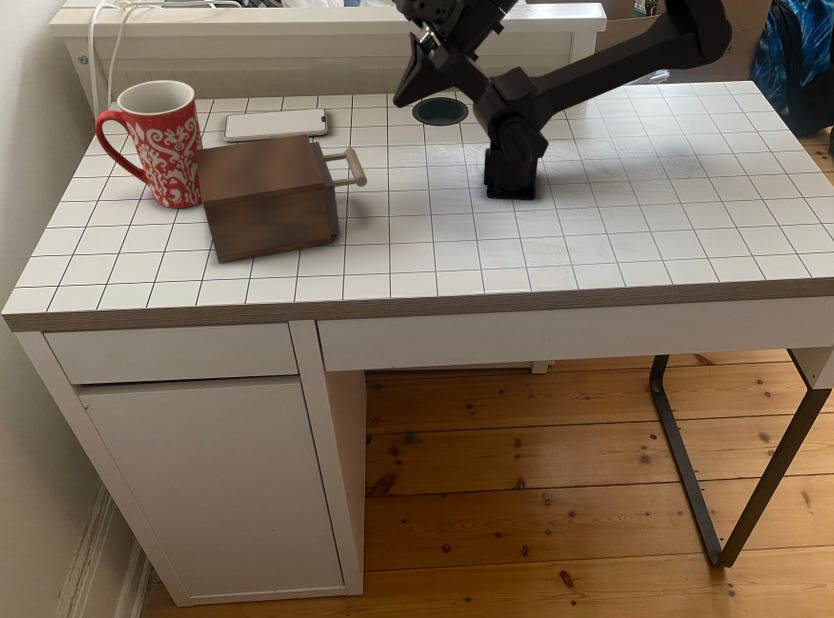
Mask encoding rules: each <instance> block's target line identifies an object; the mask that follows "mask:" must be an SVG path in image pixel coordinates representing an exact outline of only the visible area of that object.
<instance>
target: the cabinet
mask: <svg viewBox="0 0 834 618" xmlns="http://www.w3.org/2000/svg"><path fill="white" fill-rule="evenodd" d="M311 143H312V142H311V141H310V138H309V136H308V135H307V134H304V135H297V136H290V137H283V138H272V139H261V140H254V141H248V142H242V143H233V144H227V145H221V146H220V145H219V146H213V147H208V148H203V149H199V150H195V152H196V160H197V167H198V175H199V182H200V190H201V197H202V201H201V203H202V207H203V211H204V214H205V217H206V221H207V225H208V230H209V232H210V236H211V240H212V244H213V247H214V251H215V255H216V259H217V262H218V264H222V263H227V262H233V261H239V260H244V259H251V258H257V257H263V256H267V255H273V254H279V253H285V252H291V251H297V250H303V249H308V248H313V247H314V248H315V247H319V246H325V245H331V244H333V241H332V234H331V232H330V224H329V216H328V209H327V201H326V193H325V185H324V181H323V178H322V175H321V172H320V169H319V166H318V164H317V161H316V158H315V155H314V152H313V149H312V146H311Z"/></svg>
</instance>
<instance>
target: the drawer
mask: <svg viewBox="0 0 834 618" xmlns="http://www.w3.org/2000/svg"><path fill="white" fill-rule="evenodd" d="M310 143H311V146H312V149H313V152H314V155H315V158H316V161H317V164H318V166H319V169H320V172H321V175H322V178H323V181H324V185H325V193H326V201H327V209H328V216H329V224H330V232H331V235H335V234H341V230H340V222H339V221H340V220H339V213H338V206H337V205H338V204H337V197H336V188H339V187H344V186H345V187H346V186H350V185H351V186H352V185H356V186H357V187H359V188H363V187H365V186H366V185H367V184H368V178H367V176H366V174H365V171H364V169H363V167H362V164H361V162H360V160H359V157H358V155H357V153H356V150H355V148H352V147H348V148H346V149H345V150H344V152H338V153H333V154H326V155H325V154H324V153H323V150H322V147H321V144H320V142H319V141H312V142H310ZM340 160H346V163H347V165H348V168H349V170H350V173H351V175H352V177H348V178H347V177H346V178H342V179H335V180H334V179H333V178H332V174H331V172H330V170H329V167H328V162H333V161H340Z"/></svg>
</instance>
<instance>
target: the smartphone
mask: <svg viewBox="0 0 834 618" xmlns="http://www.w3.org/2000/svg"><path fill="white" fill-rule="evenodd" d="M328 130H329V129H328V116H327V109H325V108H324V107H323V108H322V107H315V108H302V109H288V110H287V109H286V110H276V111H275V110H274V111H261V112H249V113H246V112H245V113H233V114H228V115H227V116H225V119H224V127H223V134H222V135H223V136H222V137H223V140H224V141H225V142H226V143H227V142H229V143H230V142H232V143H233V142H244V141H260V140H269V139H276V138H283V137H290V136H297V135H304V134H307V135H308V137H309V136H322V135H325V134H327V133H328Z"/></svg>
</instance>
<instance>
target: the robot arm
mask: <svg viewBox="0 0 834 618" xmlns="http://www.w3.org/2000/svg"><path fill="white" fill-rule="evenodd" d="M391 2H392V3H394V5H395V8H396V10H397V12H399V13H400V14H401V15H403V17H404V18H405V19H406V20H407V21H408V22H412V23H414V24H415V26H417V27H418V29H419V30H418V32H417V33H416V34H414V33H413V32H412V31H409V34H408V35H409V36H408V37H409V40H410V50H411V56H410V58H409V61H408V63H407V66H406V68H405V70H404V73H403V75H402V77H401V79H400V81H399V84H398V86H397V89H396V91H395V93H394V95H393V98H392V103H393V105H394V106H395V107H396V108H398V109H402V108H406V107H408V106H409V105H411V104H412V105H413V104H414V103H416V102H419V101H420V100H423V99H425V98H428V97H430V96H432V95H435V94H438V93H441V92H444V91H446V90H449V89H451V88H455V89H458V90H459V91H460V92H461V93H462V94H463V95H465V96H466V97H467V98H468V99H469V100H470V101H472V113H473V115H474V118H475V120H476V121H477V122H478V124H479V126H480V127H481V128H482V130H483V131H484V133H485V134H486V136H487V137H488V139H489V140H490V142H489V147H487V148H485V149H484V150H485V151H484V163H483V164H484V165H483V186H485V187H486V193H485V194H486V196H487V197H488V198H495V199H496V198H500V199H517V200H535V199H536V197H537V173H538V164H539V159H542V158H544V156H545V154H546V151H547V149H548V147H549V145H550V142H549V140H548V139H547V138H546V137H545V135H544V134H543V133H542V130H543V128H545V126H547V124H548V123H549V121H550V120H551V119H552V117H553V116H555V115H557V114H558V113H561V112H564V111H566V110H569V109H571V108H573V107H575V106H577V105H580V104H583V103H584V102H588V101H589V100H592V99H595V98H596V97H599V96H601V95H603V94H606V93H609V92H611V91H613V90H615V89H619V88H621V87H623V86H625V85H628V84H630V83H633V82H635V81H638V80H640V79H643V78H644V77H647V76H649V75H651V74H653V73H656V72H658V71H690V70H694V69H697V68H702V67H706V66H710V65H713V64H714V63H717V62H718V61H720V59H722V58H723V57H724V55H725V52H726V51H727V49H728V48H729V46H730V43H731V41H732V37H733V27H732V24H731V23H730V21H729V19H727V16H726V10H725V7H724V4H723V2H722V0H663V4H664V9H665V11H664V12H662V13H660V14H659V16H657V18H656V19H655V20H654V22H653V23H652V24H651V25H650V27H648V29H647V30H646V31H644V32H643V33H640V34H637V35H636V36H633V37H631V38H627V39H626V40H624V41H621V42H618V43H617V44H614V45H612V46H609V47H608V48H604V49H602V50H600V51H598V52H595V53H593V54H591V55H588V56H586V57H583V58H581V59H579V60H576V61H574V62H572V63H569V64H566V65H565V66H562V67H559V68H558V69H555V70H552V71H550V72H547V73H546V74H545V73H544V74H543V75H539V76H529V75H528V74H527V73H526V71H525V70H524V69H523V68H522V66H516V67H513V68H510V70H508V71H506V72H505V73H503V74H500V75H496V76H493V75H492V76H489V77H488V76H487V74H486V73H485V71H484V70H483V69H482V68H481V66H480V65H478V63H476V61H477V60H478V59H479V58H480V56H479V55H478V54H477V52H476V51H477V50H478V49H479V47H480V46H481V45H482V44H483V43H484V42H485V41H486V39H487V38H488V37H489V36H490V35H491V34H492V32H494V33H495V34H496V35H498V36H500V34H501V33H502V32H503V30H505V26H504V25H503V24H502V23H501V22H502V21H503V20H504V18H505V17H506V16H507V14H509V12H510V11H511V10H512V9H513V8H514V6H516V4H517V3H518V2H520V0H391Z"/></svg>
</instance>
